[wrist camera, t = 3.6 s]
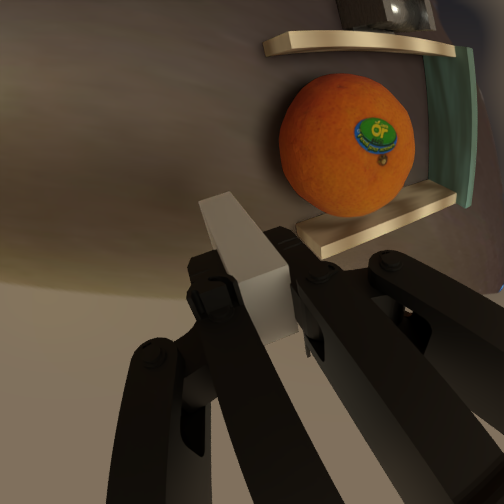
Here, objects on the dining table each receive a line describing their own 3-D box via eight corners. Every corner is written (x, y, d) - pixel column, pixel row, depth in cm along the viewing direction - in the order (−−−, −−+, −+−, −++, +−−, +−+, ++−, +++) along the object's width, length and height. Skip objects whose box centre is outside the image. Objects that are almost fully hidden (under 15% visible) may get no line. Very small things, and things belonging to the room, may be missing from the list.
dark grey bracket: (343, 33, 18) (388, 25, 14) (334, -7, 16) (376, -21, 11) (392, 36, 19) (436, 34, 15) (384, 1, 17) (427, -7, 12)
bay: (297, 235, 27) (331, 269, 22) (262, 42, 17) (299, 27, 12) (433, 186, 30) (470, 205, 25) (427, 46, 20) (472, 48, 15)
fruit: (370, 179, 26) (430, 211, 20) (274, 209, 25) (321, 255, 18) (361, 71, 20) (430, 74, 14) (249, 83, 19) (299, 78, 12)
